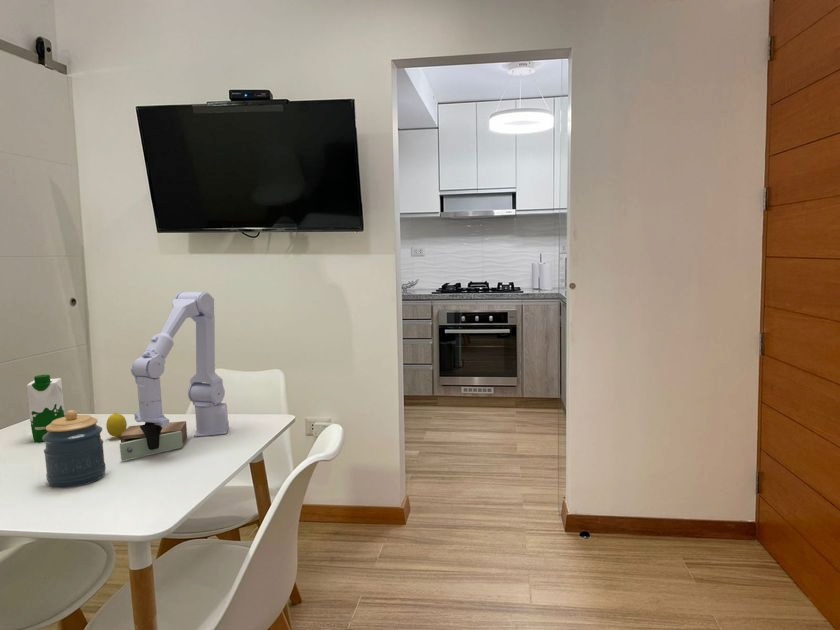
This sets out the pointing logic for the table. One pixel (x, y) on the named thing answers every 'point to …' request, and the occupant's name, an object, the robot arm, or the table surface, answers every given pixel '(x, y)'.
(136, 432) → the cabinet
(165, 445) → the door
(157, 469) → the table surface
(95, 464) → the canister
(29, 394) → the milk carton
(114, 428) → the lemon
